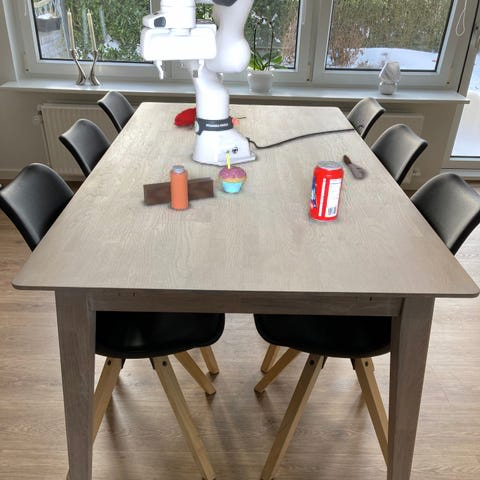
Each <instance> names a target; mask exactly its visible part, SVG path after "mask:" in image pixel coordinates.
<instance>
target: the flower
mask: <svg viewBox="0 0 480 480" xmlns="http://www.w3.org/2000/svg"><path fill="white" fill-rule="evenodd" d="M230 111H231V109H230V108H229V112H230ZM195 116H196V106H195V107H191V108H187V109H184V110H182V111H181V112H179V113H177V114H176V116H175V118H174V122H173V125H174V126H176V127H189V126H191V127H190V130H192V129H193V128H195ZM235 118H236V119H238V120H243V119H247V117H246V116H243V117H235Z"/></svg>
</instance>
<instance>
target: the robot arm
mask: <svg viewBox="0 0 480 480" xmlns="http://www.w3.org/2000/svg"><path fill="white" fill-rule="evenodd" d="M254 2H255V0H160V3H159V7H160V8H159V9H160V10H158V11H155V12H153V13H149V14H146V15H144V16H143V17H142V25H143V26H144V27H143V29H142V30H141V32H140V41H139V53H140V54H139V55H140V57H141V58H142V59H143V60H144V61H146V62H154V65H155V67H156V69H157V71H158V72H159V73H158V75H159V76H158V77H159V80H167V79H168V78H167V74H168V73H167V71H166V70H163V68H162V67H161V66H162V65H163V61H179V62H180V63H181V64H182V65H183V67H184V68H185V69H186V70H187V73H188V75H189V77H190V79H191V81H192V85H193V88H194V93H195V107H196V116H195V126H194V132H195V140H194V148H193V153H192V156H191V158H192V160H194V161H196V162H198V163H202V164H208V165H215V166H219V167H226V166H228V163H227V155H226V154H227V153H228V154H229V162H230V165H235V164H239V163H240V164H241V163H245V162H252V161H255V160H256V159H257V157H256V154H255V152H253V151H252V150H251V149H250V148H251V147H250V143H251V144H253V146H254V147H255V148H256V149H258V150H264V149H269V148H272V147H275V146H279V145H282V144H285V143H288V142H291V141H295V140H298V139H302V138H305V137H311V136H315V135H316V136H317V135H324V134H331V133H340V132H341V133H342V132H351V131H357V130H358V129H360V128H365V127H364V125H363V124H359V125H358V126H357V127H353V128H345V129H344V128H343V129H336V130H327V131H318V132H312V133H308V134H303V135H298V136H295V137H291V138H288V139H284V140H283V141H279V142H276V143H272V144H269V145H267V146H259V145H257V143H256V142H255V141H254V140H251V138H250V137H247V136H245V135H244V134H243V133H242V132H240V131H239V130H238V129H236V128H235V126H239V124H240V119H236V118H237V117H232V116H231V115H230V111H229V110H230V92H229V90H228V88H227V86H226V85H224V84H223V83H222V82H221V80H220V78H219V75H218V73H220V74H226V75H232V74H233V75H234V74H241V73H243V72H245V71H246V70H247V68H248V67H249V65H250V63H251V59H252V51H251V46H250V44H249V42H248V41H247V39H246V37H245V33H244V32H245V31H244V30H245V26H246V23H247V21H248V18H249V15H250V13H251V9H252V8H253V5H254ZM197 4H204V5H205V4H207V5H213V6H212V10H211V14H212V19H213V20H212V19H210V18H207V19H203V18H197V15H196V14H197V13H196V12H197V7H196V5H197ZM217 27H218V28H217Z"/></svg>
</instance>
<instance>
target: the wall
mask: <svg viewBox="0 0 480 480" xmlns="http://www.w3.org/2000/svg"><path fill="white" fill-rule="evenodd" d="M142 186H143V201H144V203H145V204H146V206H154V205H161V204H169V203H170V204H171V188H170V181H165V182H155V183H146V184H143V185H142ZM207 198H208V199H209V198H214V179H213V178H211V177H209V176H208V177H199V178H190V179H189V178H188V201H193V200H199V199H207Z"/></svg>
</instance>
